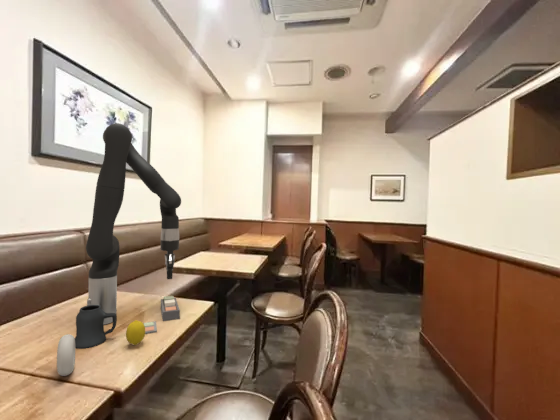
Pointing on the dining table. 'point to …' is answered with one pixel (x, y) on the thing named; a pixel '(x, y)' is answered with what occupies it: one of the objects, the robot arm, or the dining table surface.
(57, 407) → the dining table surface
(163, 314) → the keypad
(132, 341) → the lemon
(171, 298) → the key sage
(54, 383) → the dining table surface
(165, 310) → the key terracotta
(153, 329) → the tile
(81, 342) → the mug
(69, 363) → the donut
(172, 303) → the key cream
